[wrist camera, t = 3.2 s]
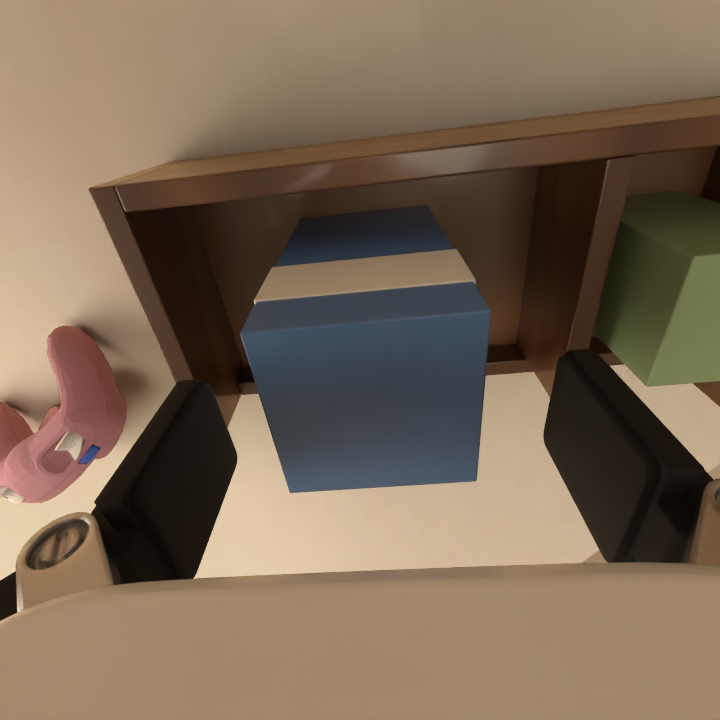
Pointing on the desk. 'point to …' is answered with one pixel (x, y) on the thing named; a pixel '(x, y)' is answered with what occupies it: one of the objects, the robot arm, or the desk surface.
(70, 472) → the video game controller
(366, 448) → the blue box
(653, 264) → the sage carton
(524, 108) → the desk surface
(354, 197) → the desk shelf
